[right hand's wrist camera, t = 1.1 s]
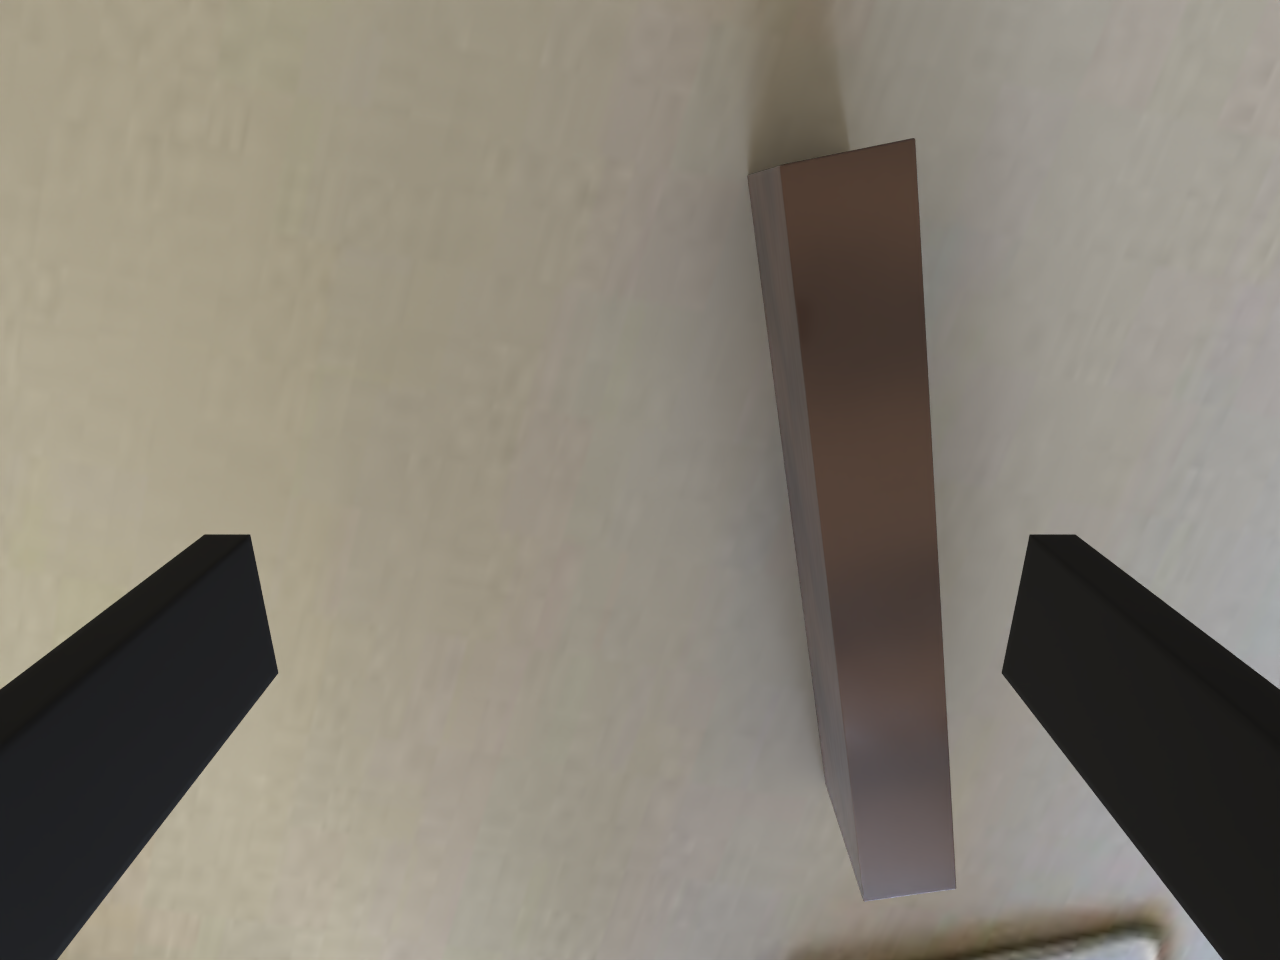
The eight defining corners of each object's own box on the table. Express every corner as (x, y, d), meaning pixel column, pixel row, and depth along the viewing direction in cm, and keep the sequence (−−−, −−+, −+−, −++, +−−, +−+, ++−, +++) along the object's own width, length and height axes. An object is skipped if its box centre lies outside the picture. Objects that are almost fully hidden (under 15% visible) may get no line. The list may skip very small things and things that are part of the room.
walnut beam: (747, 174, 28) (779, 164, 22) (851, 153, 28) (915, 137, 22) (825, 783, 39) (863, 902, 32) (902, 772, 38) (956, 889, 32)
